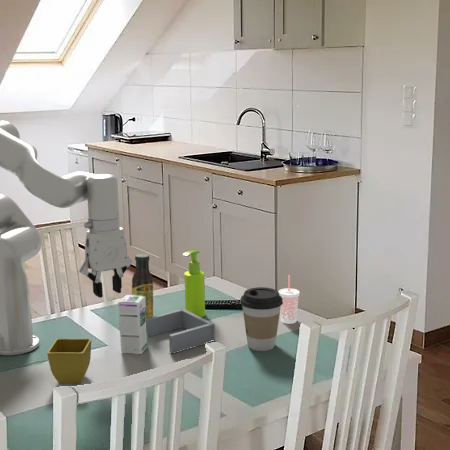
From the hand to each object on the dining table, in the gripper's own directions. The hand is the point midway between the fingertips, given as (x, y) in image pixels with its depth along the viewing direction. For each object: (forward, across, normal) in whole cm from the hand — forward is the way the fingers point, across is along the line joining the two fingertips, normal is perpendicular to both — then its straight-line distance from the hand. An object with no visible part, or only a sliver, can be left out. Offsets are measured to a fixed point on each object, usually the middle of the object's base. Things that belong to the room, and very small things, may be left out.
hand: (107, 293), depth 185 cm
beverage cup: (+18, +53, -10) cm, 57 cm away
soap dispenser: (+18, +34, +11) cm, 40 cm away
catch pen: (+17, +20, -1) cm, 27 cm away
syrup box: (+18, +7, 0) cm, 19 cm away
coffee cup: (+18, +35, -19) cm, 44 cm away
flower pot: (+18, -14, -6) cm, 23 cm away
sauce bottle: (+18, +20, +17) cm, 32 cm away
